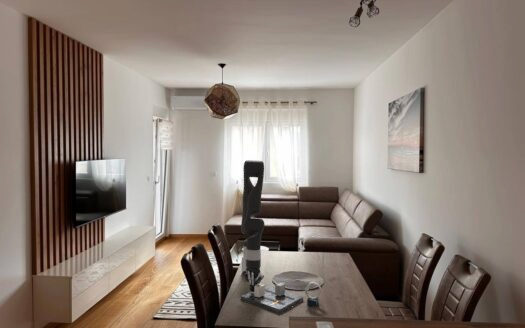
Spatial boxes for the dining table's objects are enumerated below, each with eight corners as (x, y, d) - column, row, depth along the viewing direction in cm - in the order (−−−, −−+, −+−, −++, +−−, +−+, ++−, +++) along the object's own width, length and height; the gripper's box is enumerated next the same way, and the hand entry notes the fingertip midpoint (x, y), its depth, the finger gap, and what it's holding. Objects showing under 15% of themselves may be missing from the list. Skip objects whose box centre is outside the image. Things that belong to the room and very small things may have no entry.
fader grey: (275, 294, 186) (275, 284, 186) (280, 292, 190) (280, 282, 190) (279, 296, 185) (280, 286, 184) (285, 293, 188) (285, 283, 188)
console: (240, 299, 185) (240, 295, 185) (265, 288, 201) (265, 284, 201) (279, 313, 170) (279, 309, 170) (303, 300, 186) (303, 296, 186)
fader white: (254, 295, 185) (254, 285, 184) (260, 293, 188) (260, 283, 188) (259, 297, 183) (259, 287, 182) (264, 294, 186) (264, 284, 186)
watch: (305, 301, 185) (306, 279, 185) (321, 303, 182) (322, 281, 182) (303, 305, 180) (303, 282, 180) (319, 308, 177) (320, 285, 177)
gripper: (238, 256, 188) (238, 290, 189) (258, 261, 180) (258, 297, 181) (248, 253, 194) (247, 286, 195) (268, 258, 186) (267, 292, 187)
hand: (252, 291), depth 188 cm, fingers closed
